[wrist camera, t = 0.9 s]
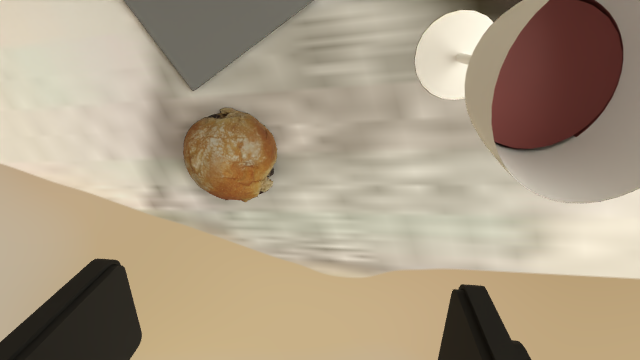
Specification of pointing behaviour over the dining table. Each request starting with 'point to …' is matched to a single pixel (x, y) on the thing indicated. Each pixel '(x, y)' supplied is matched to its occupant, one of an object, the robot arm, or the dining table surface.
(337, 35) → the dining table surface
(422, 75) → the wineglass
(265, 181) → the bread roll
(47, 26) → the dining table surface
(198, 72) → the mat
